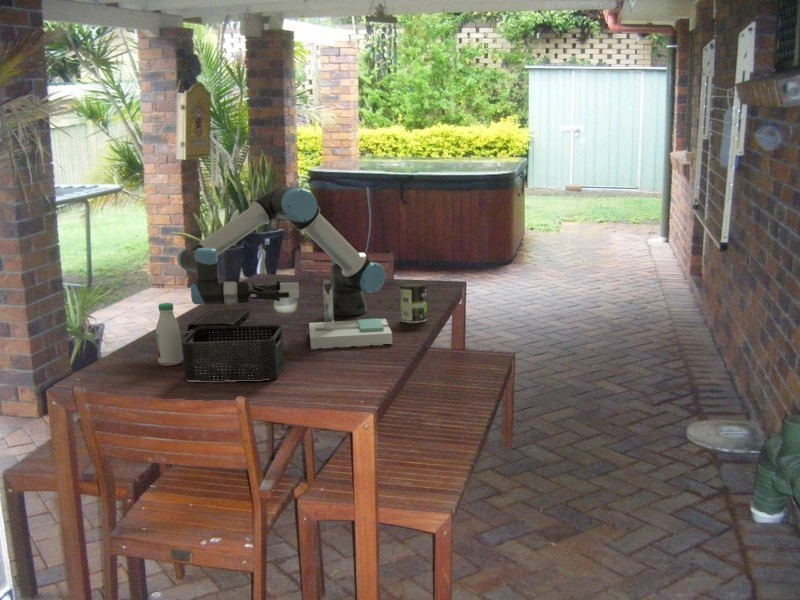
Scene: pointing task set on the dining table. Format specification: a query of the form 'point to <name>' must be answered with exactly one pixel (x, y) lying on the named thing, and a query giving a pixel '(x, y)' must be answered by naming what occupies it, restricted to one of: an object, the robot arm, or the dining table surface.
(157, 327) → the milk bottle
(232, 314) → the diary
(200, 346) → the storage bin
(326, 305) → the t key
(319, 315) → the dining table surface
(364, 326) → the cover
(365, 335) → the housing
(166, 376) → the dining table surface
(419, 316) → the coffee can
